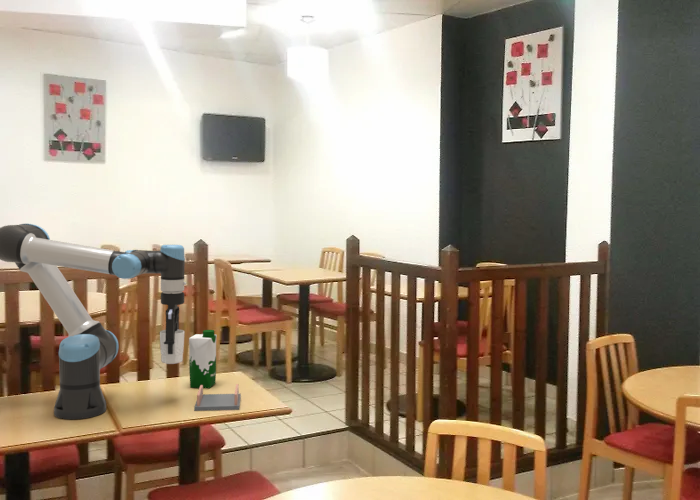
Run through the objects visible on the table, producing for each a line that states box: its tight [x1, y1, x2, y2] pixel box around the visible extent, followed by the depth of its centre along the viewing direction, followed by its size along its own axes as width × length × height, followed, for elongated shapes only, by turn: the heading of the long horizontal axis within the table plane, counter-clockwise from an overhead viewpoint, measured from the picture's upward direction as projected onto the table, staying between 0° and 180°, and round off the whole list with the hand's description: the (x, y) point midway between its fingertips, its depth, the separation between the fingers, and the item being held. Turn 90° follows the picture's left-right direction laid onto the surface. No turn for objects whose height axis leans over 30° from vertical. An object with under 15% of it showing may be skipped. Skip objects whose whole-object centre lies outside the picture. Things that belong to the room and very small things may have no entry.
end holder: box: [193, 383, 242, 412], centre depth 223 cm, size 14×14×5 cm
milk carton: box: [188, 329, 218, 389], centre depth 244 cm, size 9×9×20 cm
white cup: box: [159, 329, 185, 364], centre depth 224 cm, size 8×8×10 cm
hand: (172, 360), depth 225 cm, fingers closed on white cup, 7 cm apart
